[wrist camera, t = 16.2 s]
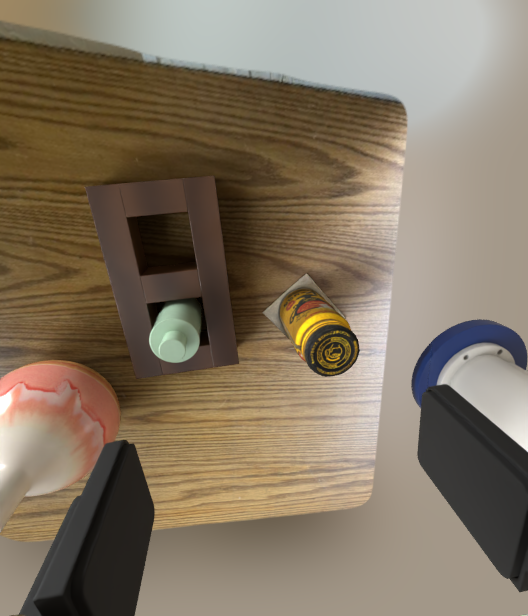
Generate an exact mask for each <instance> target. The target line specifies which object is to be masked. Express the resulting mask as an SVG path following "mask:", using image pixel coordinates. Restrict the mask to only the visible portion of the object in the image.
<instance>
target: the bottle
mask: <svg viewBox="0 0 528 616" xmlns="http://www.w3.org/2000/svg"><path fill="white" fill-rule="evenodd" d="M202 314H203V312H202V307H201V305H200V303H199V302H198V300H197V299H195V298H187V299H179V300H171V301H165V302H164V304H163V306H162V308H161V311H160V313H159V315H158V317H157V320H156V322H155V324H154V326H153V329H152V331H151V333H150V337H149V343H150V347H151V349H152V351H153V352H154V354H155V355H156V356H158V357H159V358H160V359H162V360H164V361H167V362H172V363H178V362H183V361H186V360H188V359H190V358H191V357H192V356H193V355H194V354H195V353H196V352H197V350H198V348H199V344H200V334H201V324H202Z"/></svg>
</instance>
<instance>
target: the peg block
mask: <svg viewBox="0 0 528 616" xmlns="http://www.w3.org/2000/svg"><path fill="white" fill-rule="evenodd" d="M85 189H86V193H87V197H88V200H89V204H90V208H91V211H92V215H93V219H94V223H95V226H96V230H97V234H98V238H99V241H100V245H101V249H102V253H103V256H104V260H105V264H106V268H107V271H108V275H109V279H110V282H111V286H112V290H113V294H114V297H115V301H116V305H117V309H118V312H119V316H120V320H121V324H122V327H123V331H124V335H125V339H126V342H127V346H128V350H129V353H130V357H131V361H132V365H133V368H134V372H135V376H136V379H139V378H146V377H153V376H159V375H166V374H173V373H180V372H187V371H193V370H200V369H207V368H213V367H220V366H227V365H233V364H239V360H238V352H237V345H236V337H235V329H234V321H233V314H232V306H231V298H230V291H229V283H228V275H227V267H226V260H225V252H224V244H223V237H222V229H221V221H220V213H219V206H218V198H217V190H216V183H215V176H204V177H192V178H183V179H182V178H180V179H169V180H157V181H146V182H134V183H123V184H111V185H100V186H88V187H85ZM187 211H188V214H189V220H190V227H191V233H192V239H193V245H194V251H195V257H196V262H191V263H182V264H173V265H164V266H155V267H147V262H146V258H145V253H144V249H143V244H142V240H141V235H140V231H139V226H138V222H137V217H136V216H146V215H157V214H167V213H177V212H187ZM195 297H202V300H203V306H204V312H205V318H206V324H207V331H204V332H201V334H200V344H199V348H198V350H197V352H196V353H195V354H194V355H193V356H192V357H191V358H190V359H188V360H186V361H183V362H178V363H172V362H167V361H164V360H162V359H160V358H159V357H158V356H156V355H155V354H154V352H153V351H152V349H151V347H150V343H149V337H150V333H151V331H152V329H153V326H154V324H155V322H156V320H157V317H158V312H157V308H156V303H155V302H163V301H171V300H179V299H187V298H195Z"/></svg>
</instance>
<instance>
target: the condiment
mask: <svg viewBox="0 0 528 616" xmlns="http://www.w3.org/2000/svg"><path fill="white" fill-rule="evenodd" d="M263 313H264V314H265V315H266V316H267V317H268V318H269V319H270V320H271V321H272V322H273V323H274V324H275V325H276V326H277V327H278V328H279V329H280V330H281V331H282V332H283V333H284V335H286V336H287V338H288V339H290V340H291V342H292V344H293V346H294V348H295V350H296V351H297V353H298V355H299V356H300V357H301V358H302V359H303V360H304V361H305V362H307V364H308V366H309V367H310V369H312V370H313V371H314V372H316V373H317V374H319V375H321V376H325V377H327V376H335V375H339V374H342V373H344V372H346V371H347V370H348V369H349V368H351V367H352V366H353V364H354V363H355V362H356V360H357V357H358V355H359V351H360V350H359V343H358V339H357V338H356V335H355V334H354V333H353V332H352V331H351V329H350V326H349V323H348V322H347V321H346V320H345V319H346V318H345V317H344V315H343V314H342V313H341V312H340V311H339V310H338V308H337V307H336V306H335V305H334V304H333V303H332V302H331V300H330V299H329V298H328V297H327V296H326V295H325V294H324V292H323V291H322V290H321V289H320V288H319V287H318V286H317V284H316V283H315V282H314V281H313V280H312V279H311V278H310V276H309V275H308V274H307V273H306V274H305V275H304V276H303V277H301V278H300V279H299V280H298V281H297V282H296V283H294V284H293V285H292V286H291V287H290V288H289V289H288V290H287V291H285V292H284V293H283V294H282V295H281V296H280V297H279V298H278V299H277V300H276V301H275V302H273V303H272V305H270V306H269V307H268V308H267V309H266V310H265V311H264V312H263Z"/></svg>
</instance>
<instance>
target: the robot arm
mask: <svg viewBox="0 0 528 616" xmlns="http://www.w3.org/2000/svg"><path fill="white" fill-rule="evenodd" d="M418 460H419V462H420V465H421V466H422V467H423V469H424V471H425V472H426V473H427V475H428V476H429V477H430V479H431V480H432V481H433V483H434V484H435V486H436V487H437V488H438V490H439V491H440V492H441V494H442V495H443V496H444V498H445V499H446V500H447V502H448V503H449V504H450V506H451V507H452V509H453V510H454V511H455V513H456V514H457V516H458V517H459V518H460V520H461V521H462V522H463V524H464V525H465V526H466V528H467V529H468V531H469V532H470V533H471V535H472V536H473V537H474V539H475V540H476V541H477V543H478V544H479V545H480V547H481V548H482V550H483V551H484V552H485V554H486V555H487V556H488V558H489V559H490V561H491V562H492V563H493V565H494V566H495V567H496V569H497V570H498V571H499V573H500V574H501V575H502V576H504V577H505V578H507V579H508V578H509V579H510V580H511V581H512V583H513V584H514V585H515V587H516V588H517V589H518V591H519V592H523V591H527V590H528V370H524V369H522V368H521V367H519V366H517V365H515V361H514V359H513V356H512V355H511V354H510V352H509V351H507V350H506V349H505V348H503V347H501V346H499V345H497V344H494V343H478V344H474V345H471V346H468V347H466V348H464V349H462V350H461V351H459V352H458V353H457V354H455V355H454V356H453V357H452V358H451V359H450V360H449V361H448V362H447V363H446V364H445V366H444V367H443V369H442V371H441V372H440V375H439V377H438V380H437V385H436V386H431V387H428V388H427V389H426V392H424V393H423V395H422V404H421V417H420V430H419V442H418ZM153 522H154V504H153V501H152V498H151V495H150V492H149V489H148V485H147V482H146V479H145V476H144V473H143V470H142V467H141V464H140V460H139V457H138V454H137V451H136V448H135V445H134V444H129V443H128V441H127V440H121V441H116V442H110V443H106V444H105V445H104V447H103V449H102V451H101V453H100V455H99V458H98V460H97V462H96V464H95V466H94V469H93V471H92V473H91V475H90V477H89V479H88V482H87V484H86V486H85V488H84V490H83V493H82V495H81V496H78V497H77V498H75V499H74V501H73V503H72V504H71V506H70V508H69V510H68V512H67V514H66V516H65V519H64V521H63V523H62V525H61V527H60V529H59V531H58V533H57V535H56V537H55V540H54V542H53V544H52V546H51V548H50V550H49V552H48V554H47V556H46V558H45V561H44V563H43V565H42V567H41V569H40V571H39V573H38V576H37V577H36V579H35V582H34V584H33V586H32V588H31V590H30V592H29V594H28V597H27V598H26V600H25V603H24V605H23V607H22V609H21V611H20V613H19V615H12V616H134V615H135V610H136V605H137V601H138V595H139V591H140V586H141V580H142V576H143V571H144V566H145V561H146V556H147V551H148V546H149V541H150V536H151V531H152V526H153ZM521 616H528V614H525V615H521Z"/></svg>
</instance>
